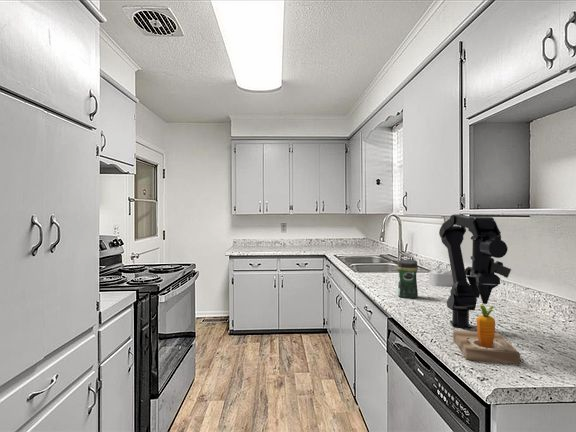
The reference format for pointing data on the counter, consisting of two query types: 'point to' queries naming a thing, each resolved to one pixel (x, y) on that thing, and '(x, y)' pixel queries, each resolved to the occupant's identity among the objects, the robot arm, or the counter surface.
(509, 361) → the hole board
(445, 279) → the lumpy-topped squat cylinder
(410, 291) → the coffee jar
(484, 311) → the carrot
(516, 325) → the counter surface
